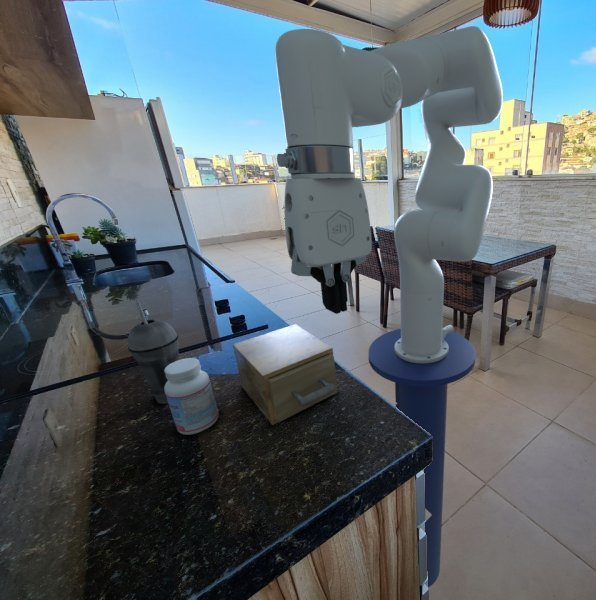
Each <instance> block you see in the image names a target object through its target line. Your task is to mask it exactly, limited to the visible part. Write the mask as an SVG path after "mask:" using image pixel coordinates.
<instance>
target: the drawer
mask: <svg viewBox="0 0 596 600" xmlns="http://www.w3.org/2000/svg"><path fill="white" fill-rule="evenodd" d="M335 365H336V364H335V356H334V354H333V355H332V354H328V355H326V356H321V357H319V358H316V359H314V360H311V361H309V362H307V363H304V365H301V366H299V367H297V368H294V369H292V370H289V371H287V372H285V373H282V374H280V375H277V376H276V375H275V376H273V377H270V378H268V384H269V390H270V395H271V400H272V405H273V410H274V416H275V420H276V421H277V422H278V424H279V423H281V422H282V421H284V420H286V419H288V418H291V417H292V416H294V415H296V414H298V413H300V412H302V411H305V410H306V409H308V408H310V407H313V406H314V405H316V404H317V403H318V404H319V403H320V402H321V401H324V400H326V399H328V398H330V397H331V396H334V395H335V394H337V393H338V384H337V383H338V382H337V376H336V375H337V373H336V366H335Z"/></svg>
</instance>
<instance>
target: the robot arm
mask: <svg viewBox="0 0 596 600" xmlns="http://www.w3.org/2000/svg"><path fill="white" fill-rule="evenodd" d="M274 56H275V57H274V59H275V66H276V73H277V74H276V75H277V81H278V82H277V83H278V89H279V96H280V97H279V98H280V103H281V104H280V105H281V112H282V113H281V114H282V120H283V121H282V122H283V129H284V136H285V144H286V148H285V152H284V153H277V155H276V163H277V165H278V167H279V168H285V169H287V172H288V174H290V175H289V176H290V178H287V179H285V184H284V185H285V186H284V202H283V204H284V205H283V208H284V209H283V210H284V231H285V241H286V248H287V253H288V256H289V258H290V260H291V265H290V266H291V267H290V271H291V273H292V275H296V276H298V277H312V278H313V279H314V280H316V282H318V283H320V292H321V299H322V301H321V302H322V305H323V306H324V308H325V309H326V310H327V311H329V312H331V313H333V314H336V315H338V314H341V313H342V312H347V311H348V300H349V299H348V288H347V287H348V286H347V283H349V282H350V279H351V274H352V273H353V271H354V269H355V268H356V267H357V266H359V265H362V264H363V263H366V261H367V259H368V255H370V254H371V252H372V248H373V247H372V246H373V245H372V244H373V243H372V229H371V221H370V214H369V205H368V200H367V196H366V192H365V191H366V190H365V188H364V184H363V181H362V178H361V177H357V178H356V168H355V151H354V150H355V149H354V139H353V138H354V137H353V136H354V135H353V128H361V127H370V126H377V125H382V124H386V123H387V122H389V121H390V120H392V119H393V118H394V117H395V116H396V115H397V114H398V112H399V111H400V110H401V109H405V108H409V107H412V106H415V105H416V104H418V103H421V104H420V105H421V106H420V110H421V119H422V125H423V129H424V134H425V139H426V143H427V153H426V156H425V160H424V162H423V166H422V169H421V171H420V174H419V177H418V181H417V184H416V188H415V193H414V200H415V203H416V206H417V207H418V208H419V210H418V209H417V210H410V211H406V212H404V213H403V214H401V215H400V216H399V217H398V218H397V219H396V222H395V224H394V229H393V236H394V237H393V238H394V243H395V249H396V253H397V259H398V268H399V298H400V299H399V301H400V303H399V304H400V305H399V308H400V309H399V310H400V329H401V338H400V339H399V340H398V341H397V342H396V343H395V353H396V355H397V356H398V357H400V358H401V359H403V360H405V361H408V362H412V363H421V364H424V363H433V362H436V361H439V360H441V359H443V358H444V357H446V355H447V354H448V351H449V346H448V344H447V342H446V341H445V340H444V337H446V335H447V334H449V333H451V332H454V331H455V328H454V326H453V325H452V324H448V325H446V326H444V301H445V300H444V298H445V297H444V294H445V278H444V273H443V270H442V269H441V266H440V265H439V263H438V262H437V261H438V260H439V261H447V262H449V261H450V262H458V263H459V262H462V263H464V262H470V261H472V260H473V259H474V258H475V257H476V256H477V254H478V252H479V250H480V246H481V242H482V239H483V236H484V231H485V227H486V223H487V220H488V215H489V211H490V209H491V203H492V200H493V199H492V198H493V192H494V191H493V189H494V182H493V177H492V174H491V171H490V170H489V169H488V168H487V167H485V166H484V165H480V164H466V158H467V152H466V149H465V147H464V145H463V143H462V142H461V140H460V139H459V138H458V137H457V135H455V133H453V131H452V129H451V128H460V127H470V126H471V127H472V126H480V125H487V124H491V123H493V122H494V121H496V120H497V119H498V117H499V116H500V114H501V111H502V108H503V103H504V90H503V83H502V81H501V77H500V72H499V69H498V65H497V61H496V57H495V53H494V50H493V48H492V45H491V43H490V40H489V38H488V36H487V34H486V33H485V32H484V31H483V29H481V28H480V27H478V26H475V25H471V26H467V27H462V28H458V29H454V30H449V31H445V32H441V33H436V34H431V35H428V36H427V35H426V36H422V37H418V38H412V39H407V40H406V39H405V40H401V41H397V42H393V43H390V44H386V45H384V46H379V47H377V48H374V49H372V50H366V49H360V48H357V47H354V46H353V47H352V46H349V45H346V44H343V42H342V41H341V40H339V39H338V37H337V36H335V35H333V34H331V33H329V32H326V31H323V30H319V29H312V28H296V29H291V30H288V31H285V32H284V33H282V34H281V35H280V36H279V37H278V38H277V40H276V43H275V47H274ZM443 326H444V327H443Z"/></svg>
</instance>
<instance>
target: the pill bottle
mask: <svg viewBox="0 0 596 600" xmlns="http://www.w3.org/2000/svg"><path fill="white" fill-rule="evenodd" d="M164 371H165V375H166V378H167V380H168V381H167V382H166V384H165V387H164V391H165V394H166V398H167V401H168V403H167V404H168V406H169V410H170V413H171V416H172V419H173V422H174V426H175V428H176V430H177V432H178V433H180V434H182V435H190V436H191V435H194V434H195V435H196V434H199V433H201V432H203V431H205V430H207V429H209V428H210V427H212V426H213V425H214V424H215V423H216V422H217V420H219V419H218V418H219V415H220V414H219V410H218V406H217V401H216V398H215V394H214V391H213V386H212V383H211V380H210V376H209V374H208V373H207V372H206V371H205V370H202V365H201V363H200V360H199V359H197V358H195V357H188V358H182V359H181V358H180V360H178V361H175V362H173V363H171V364H169V365H168V366H167V367H166V368H165V370H164Z"/></svg>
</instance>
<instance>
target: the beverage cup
mask: <svg viewBox="0 0 596 600" xmlns="http://www.w3.org/2000/svg"><path fill="white" fill-rule="evenodd" d="M134 302H135V304H136V306H137V310H138V312H139V315H140V317H141V319H142V321H140V322H139V323H137V324H136V325H134V326H133V328H132V329H131V330H130V332H129V334H128V336H127V350H128V351H129V353H130V354H131V356H132V357H133V359H134V360H135V361H136V362H137V364H138V367H139V369H140V370H141V372H142V373H141V374H143V377H144V378H145V381H146V383H147V385H148V387H149V389H150V391H151V392H152V395H153V397H154V398H155V400H156V402H157V403H158V404H161V405H162V404H163V405H164V404H168V401H167V398H166V394H165V391H164V387H165V384H166V382H167V381H168V380H167V378H166V375H165V371H164V370H165V368H166V367H167V366H168V365H169V364H171V363H173V362H175V361H178V360H181V357H180V352H179V335H178V334H177V332H176V330H175V329H174V328H173V326H172V325H171V324H169V323H168V322H166V321H164V320H161V319H147V318H146V315H145V313H144V309H143V308H142V305H141V302H140V300H139V299H138V298H136V299H134Z"/></svg>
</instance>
